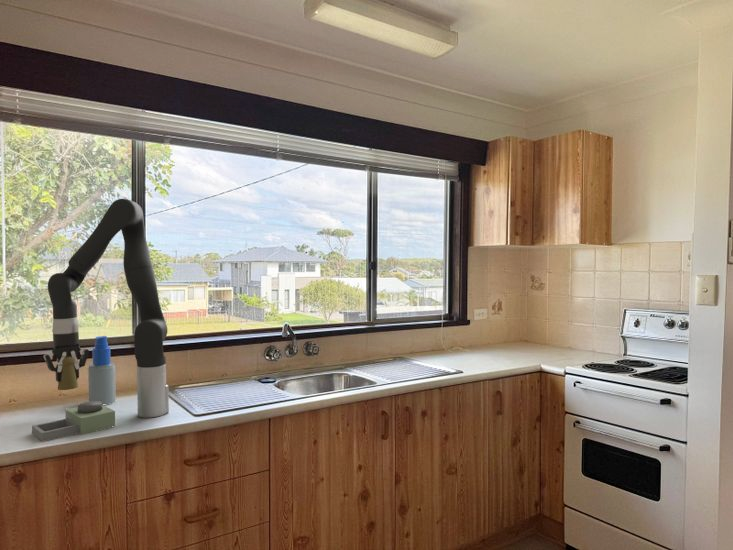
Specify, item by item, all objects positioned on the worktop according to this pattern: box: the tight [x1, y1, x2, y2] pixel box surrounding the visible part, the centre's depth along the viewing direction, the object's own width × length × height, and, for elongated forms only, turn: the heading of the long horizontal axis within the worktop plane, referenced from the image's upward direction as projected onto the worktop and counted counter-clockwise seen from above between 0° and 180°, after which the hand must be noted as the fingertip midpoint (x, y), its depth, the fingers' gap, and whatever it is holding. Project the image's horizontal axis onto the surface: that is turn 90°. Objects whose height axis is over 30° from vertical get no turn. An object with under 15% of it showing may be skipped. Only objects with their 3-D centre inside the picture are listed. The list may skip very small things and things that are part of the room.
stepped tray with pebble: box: [31, 401, 116, 442], centre depth 158 cm, size 20×14×7 cm
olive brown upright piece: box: [57, 356, 79, 391], centre depth 170 cm, size 6×6×11 cm
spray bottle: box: [87, 335, 117, 406], centre depth 188 cm, size 9×9×25 cm
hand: (67, 381), depth 170 cm, fingers closed on olive brown upright piece, 4 cm apart
